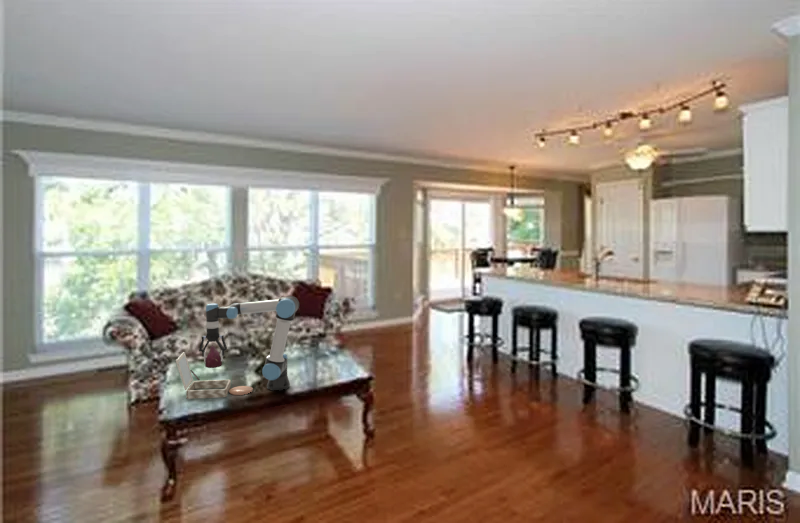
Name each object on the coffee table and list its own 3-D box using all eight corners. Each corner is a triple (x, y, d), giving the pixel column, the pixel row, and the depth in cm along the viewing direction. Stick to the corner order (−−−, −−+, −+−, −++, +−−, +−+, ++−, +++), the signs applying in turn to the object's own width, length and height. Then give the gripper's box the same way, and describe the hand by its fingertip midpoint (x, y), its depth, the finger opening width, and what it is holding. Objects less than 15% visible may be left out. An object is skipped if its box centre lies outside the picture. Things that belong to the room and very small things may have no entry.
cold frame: (230, 386, 339) (230, 368, 338) (226, 397, 319) (226, 377, 318) (190, 388, 334) (190, 369, 333) (183, 398, 314) (183, 379, 313)
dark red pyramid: (206, 369, 329) (202, 346, 330) (222, 365, 332) (218, 343, 334) (205, 369, 319) (201, 346, 320) (222, 366, 322) (218, 343, 324)
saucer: (253, 387, 339) (253, 385, 339) (251, 394, 325) (251, 393, 325) (230, 387, 337) (230, 386, 336) (227, 395, 322) (227, 394, 322)
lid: (184, 351, 331) (183, 352, 331) (177, 360, 312) (175, 360, 312) (193, 379, 334) (191, 380, 334) (186, 389, 314) (185, 390, 314)
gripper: (231, 325, 330) (232, 358, 331) (195, 326, 325) (196, 360, 327) (229, 327, 322) (230, 361, 324) (193, 329, 318) (194, 363, 320)
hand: (213, 361), depth 326 cm, fingers closed on dark red pyramid, 10 cm apart
